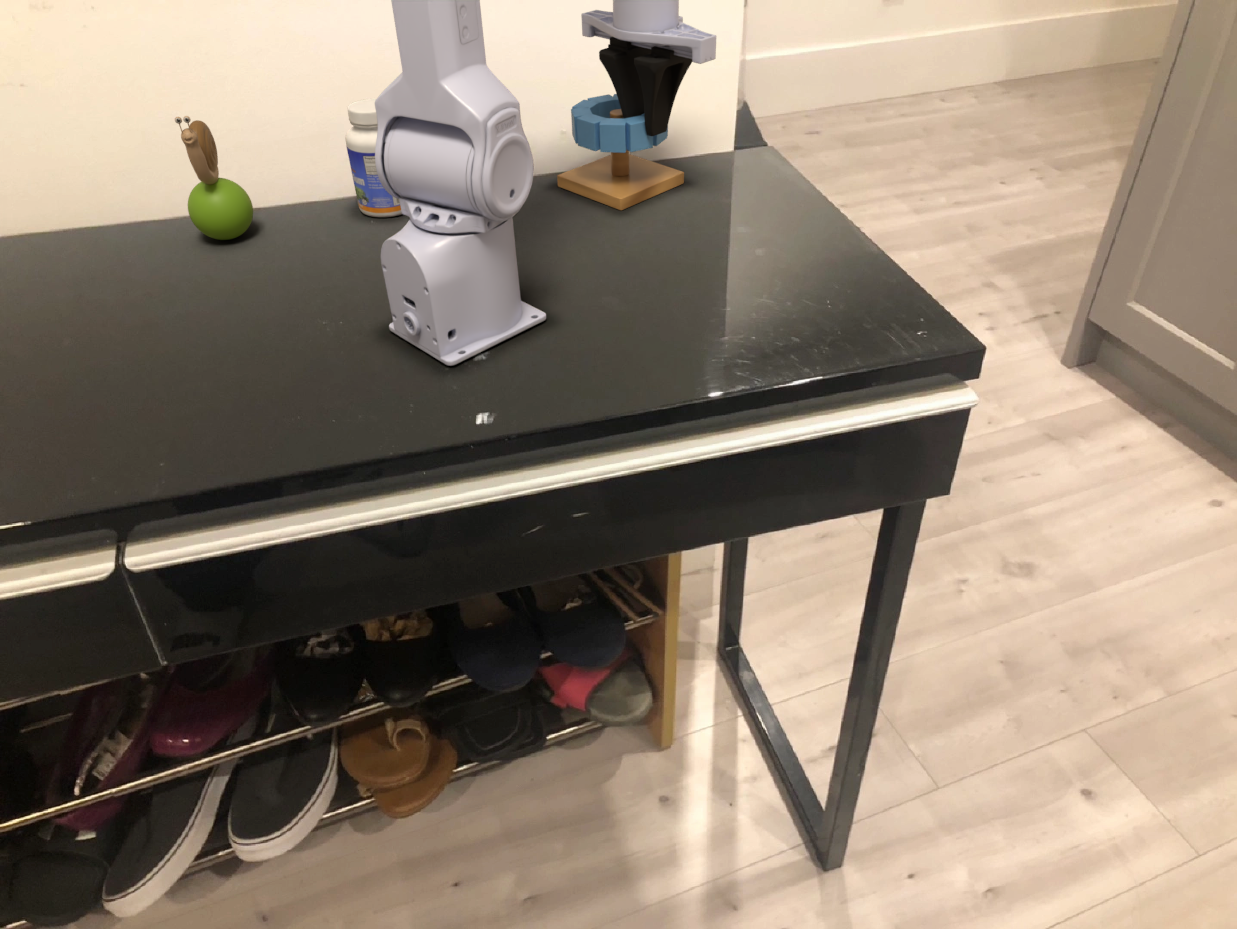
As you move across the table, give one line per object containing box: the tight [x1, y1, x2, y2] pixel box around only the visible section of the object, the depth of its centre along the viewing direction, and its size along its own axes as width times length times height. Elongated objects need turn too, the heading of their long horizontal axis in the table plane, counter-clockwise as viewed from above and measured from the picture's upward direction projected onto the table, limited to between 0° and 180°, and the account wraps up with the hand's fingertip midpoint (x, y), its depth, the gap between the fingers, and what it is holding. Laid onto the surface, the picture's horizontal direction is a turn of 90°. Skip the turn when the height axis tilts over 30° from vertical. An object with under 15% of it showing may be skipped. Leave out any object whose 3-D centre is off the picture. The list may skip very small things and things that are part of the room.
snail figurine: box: [174, 115, 254, 241], centre depth 80 cm, size 5×6×12 cm
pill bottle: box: [344, 98, 403, 218], centre depth 86 cm, size 5×5×10 cm
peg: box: [556, 109, 685, 211], centre depth 90 cm, size 9×9×7 cm
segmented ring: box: [570, 93, 669, 154], centre depth 88 cm, size 9×9×3 cm
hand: (646, 129), depth 86 cm, fingers closed on segmented ring, 2 cm apart
